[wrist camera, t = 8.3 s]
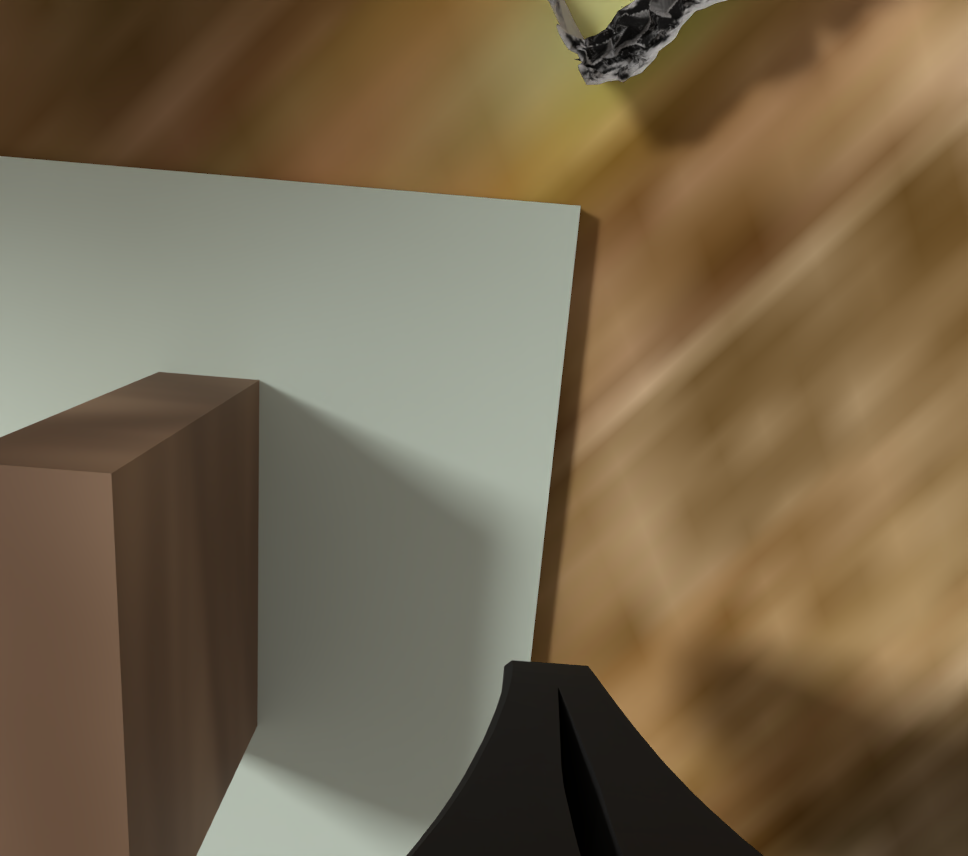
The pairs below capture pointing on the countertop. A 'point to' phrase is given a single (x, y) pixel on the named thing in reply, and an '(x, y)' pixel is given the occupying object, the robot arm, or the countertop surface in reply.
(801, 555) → the countertop surface
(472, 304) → the mat
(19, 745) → the walnut slab
